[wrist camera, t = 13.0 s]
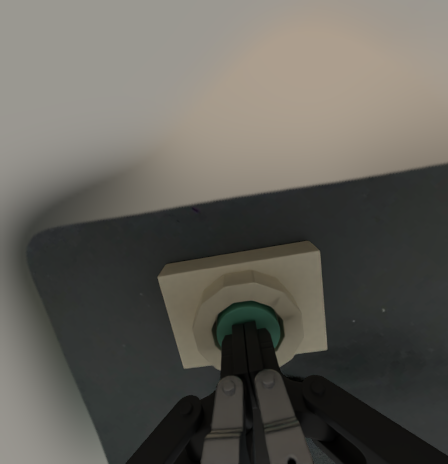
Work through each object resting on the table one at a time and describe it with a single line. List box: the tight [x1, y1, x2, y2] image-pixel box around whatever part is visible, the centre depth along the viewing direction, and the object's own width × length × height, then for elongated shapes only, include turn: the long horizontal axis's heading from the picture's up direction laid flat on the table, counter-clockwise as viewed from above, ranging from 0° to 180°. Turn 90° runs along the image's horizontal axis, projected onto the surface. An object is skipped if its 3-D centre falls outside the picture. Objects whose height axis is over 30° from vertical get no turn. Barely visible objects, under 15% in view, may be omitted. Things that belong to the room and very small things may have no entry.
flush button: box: [217, 300, 280, 348], centre depth 15 cm, size 4×4×2 cm
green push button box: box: [158, 241, 327, 370], centre depth 16 cm, size 11×8×4 cm
